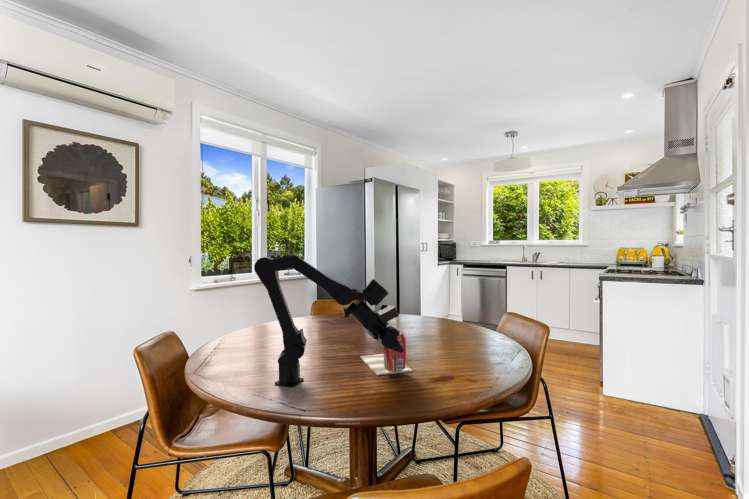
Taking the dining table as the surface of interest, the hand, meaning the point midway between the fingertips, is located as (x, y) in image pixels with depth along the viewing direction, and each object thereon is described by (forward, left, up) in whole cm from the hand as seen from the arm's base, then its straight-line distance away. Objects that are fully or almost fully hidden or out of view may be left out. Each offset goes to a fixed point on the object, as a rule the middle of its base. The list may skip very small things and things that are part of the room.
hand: (398, 348), depth 121 cm
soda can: (-1, +1, -7) cm, 7 cm away
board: (+8, +8, -8) cm, 14 cm away
